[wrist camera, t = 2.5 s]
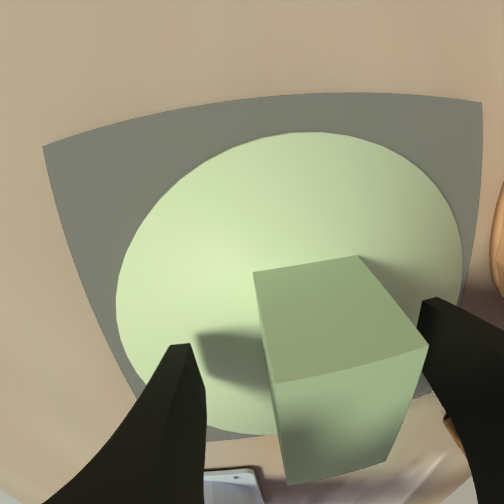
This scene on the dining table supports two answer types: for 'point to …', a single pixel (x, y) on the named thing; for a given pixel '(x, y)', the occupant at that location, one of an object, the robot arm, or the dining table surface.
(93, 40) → the dining table surface
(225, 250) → the lid
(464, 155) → the mat
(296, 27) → the dining table surface
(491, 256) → the bowl
